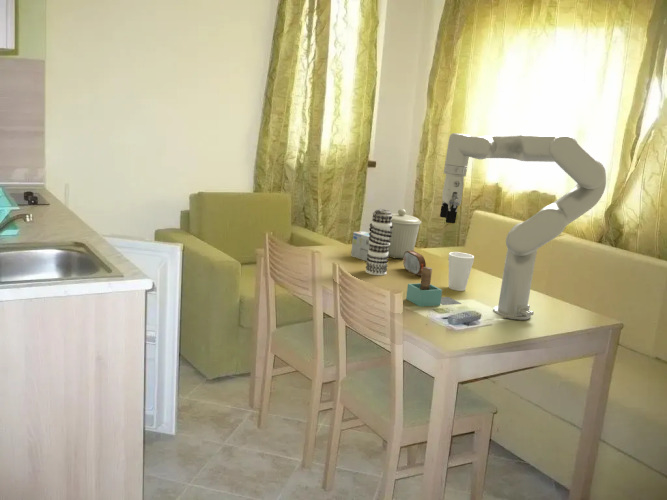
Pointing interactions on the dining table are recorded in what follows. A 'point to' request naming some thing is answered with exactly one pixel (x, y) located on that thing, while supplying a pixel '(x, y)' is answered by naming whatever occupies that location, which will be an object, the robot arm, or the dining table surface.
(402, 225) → the canister
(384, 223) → the decorative candle
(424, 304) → the teal open box
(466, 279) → the foam cup
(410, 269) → the tin
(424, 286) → the dowel
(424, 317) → the dining table surface
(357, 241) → the light bulb box
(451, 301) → the coaster
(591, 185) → the robot arm
